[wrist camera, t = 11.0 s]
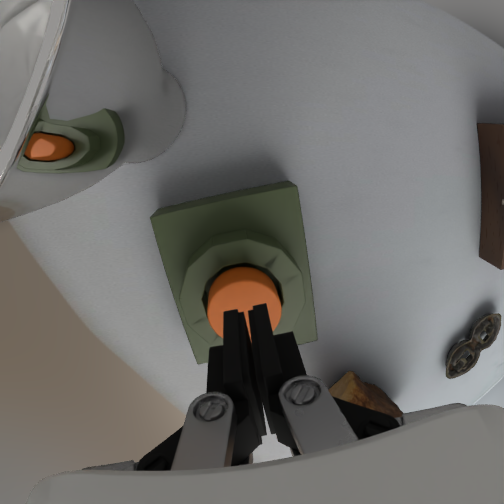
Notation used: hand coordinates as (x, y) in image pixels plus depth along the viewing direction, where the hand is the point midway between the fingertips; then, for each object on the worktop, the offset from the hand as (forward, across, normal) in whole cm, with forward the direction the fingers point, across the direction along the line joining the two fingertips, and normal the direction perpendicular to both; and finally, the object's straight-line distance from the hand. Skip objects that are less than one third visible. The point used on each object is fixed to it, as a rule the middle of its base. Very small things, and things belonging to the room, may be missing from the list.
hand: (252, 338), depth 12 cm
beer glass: (+9, +4, -10) cm, 14 cm away
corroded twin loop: (+8, -20, +13) cm, 25 cm away
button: (+5, 0, +1) cm, 5 cm away
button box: (+8, 0, +1) cm, 8 cm away
